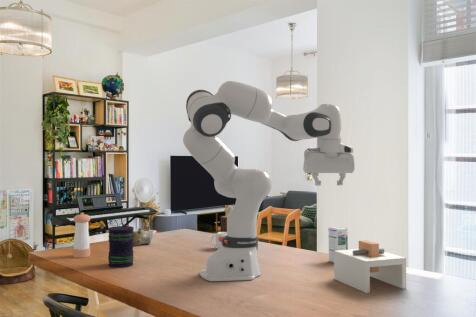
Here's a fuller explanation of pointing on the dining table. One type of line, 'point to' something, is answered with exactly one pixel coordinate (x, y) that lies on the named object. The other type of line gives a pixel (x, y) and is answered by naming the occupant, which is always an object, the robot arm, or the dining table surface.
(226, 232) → the mug
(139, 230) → the ceramic sculpture
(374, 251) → the notched wooden block
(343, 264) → the shelf
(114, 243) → the storage jar
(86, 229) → the salt shaker
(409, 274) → the dining table surface
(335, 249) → the syrup box
